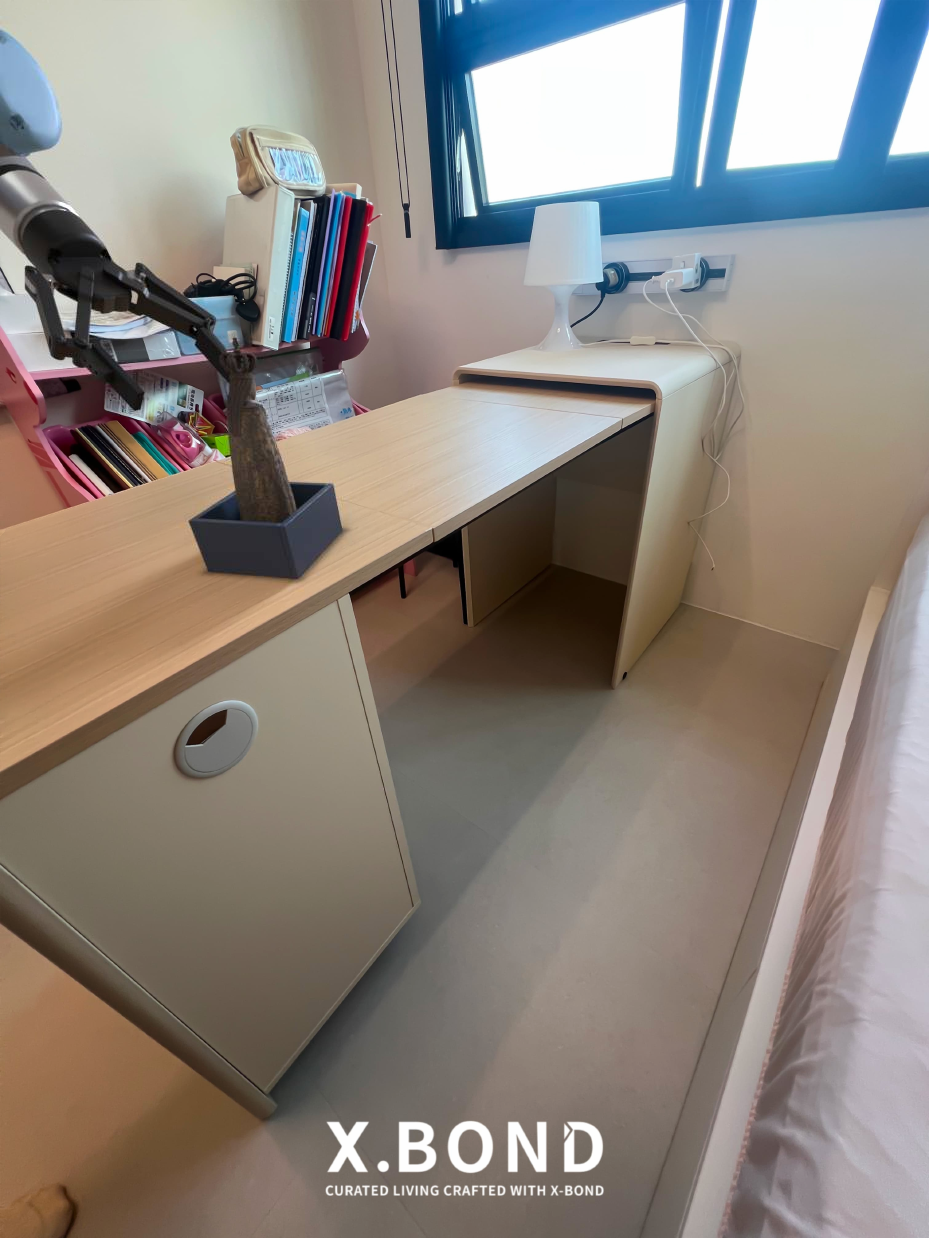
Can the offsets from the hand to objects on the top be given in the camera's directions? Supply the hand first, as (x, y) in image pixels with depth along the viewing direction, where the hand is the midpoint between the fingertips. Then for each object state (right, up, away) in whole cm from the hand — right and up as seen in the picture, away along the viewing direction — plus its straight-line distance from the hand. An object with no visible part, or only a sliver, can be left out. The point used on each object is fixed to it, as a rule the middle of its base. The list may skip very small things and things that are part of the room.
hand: (192, 389), depth 60 cm
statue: (+7, -18, +9) cm, 21 cm away
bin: (+7, -18, +9) cm, 21 cm away
